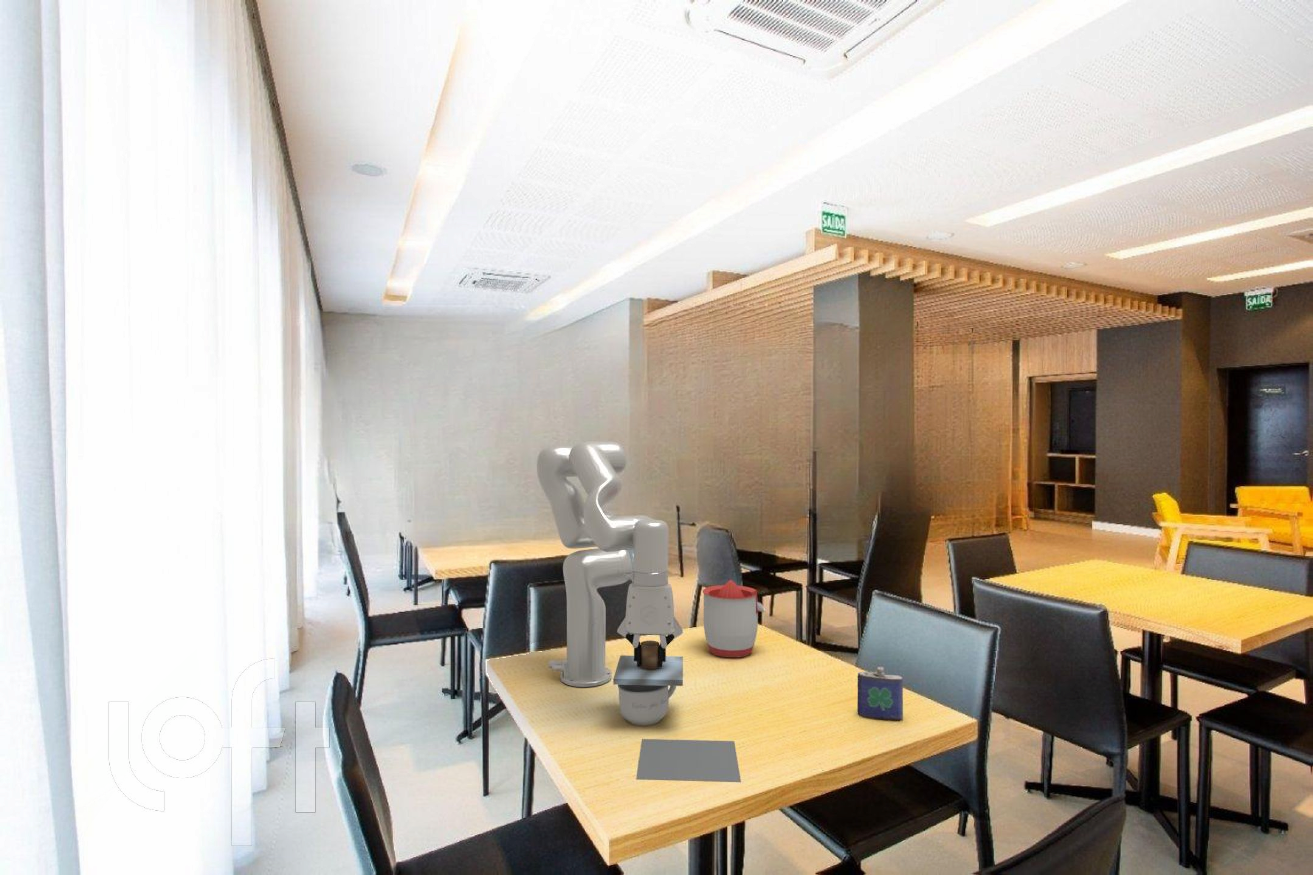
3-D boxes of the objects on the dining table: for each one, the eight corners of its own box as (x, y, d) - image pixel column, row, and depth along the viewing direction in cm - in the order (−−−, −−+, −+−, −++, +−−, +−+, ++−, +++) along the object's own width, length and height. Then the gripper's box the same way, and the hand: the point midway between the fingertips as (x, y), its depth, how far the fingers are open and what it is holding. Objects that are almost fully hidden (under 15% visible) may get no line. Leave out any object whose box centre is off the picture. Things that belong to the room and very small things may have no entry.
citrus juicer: (766, 663, 170) (766, 587, 171) (700, 659, 173) (701, 585, 173) (764, 644, 186) (764, 575, 186) (703, 641, 188) (704, 573, 188)
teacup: (631, 735, 128) (631, 695, 128) (609, 714, 138) (609, 677, 138) (691, 721, 135) (691, 683, 135) (666, 702, 144) (666, 667, 144)
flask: (902, 717, 137) (902, 666, 137) (903, 722, 134) (903, 671, 134) (857, 712, 140) (857, 662, 140) (857, 717, 137) (857, 667, 137)
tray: (636, 781, 111) (636, 778, 111) (641, 740, 126) (641, 738, 126) (740, 784, 110) (741, 781, 110) (734, 742, 125) (734, 740, 125)
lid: (613, 684, 130) (613, 653, 130) (620, 660, 144) (620, 632, 144) (682, 685, 129) (682, 655, 129) (682, 661, 143) (683, 634, 143)
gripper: (609, 581, 133) (608, 670, 133) (689, 582, 132) (689, 671, 132) (613, 574, 141) (612, 658, 141) (689, 575, 140) (689, 659, 140)
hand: (649, 663), depth 136 cm, fingers closed on lid, 4 cm apart
